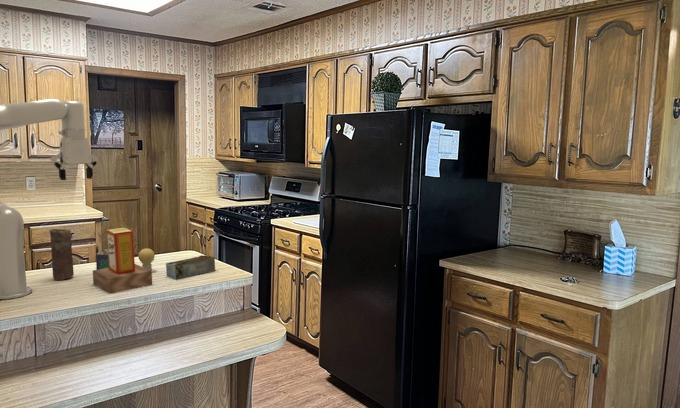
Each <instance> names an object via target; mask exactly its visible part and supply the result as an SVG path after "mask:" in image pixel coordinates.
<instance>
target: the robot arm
mask: <svg viewBox="0 0 680 408" xmlns="http://www.w3.org/2000/svg"><path fill="white" fill-rule="evenodd" d="M58 120H61V128H62V129H61V130H58V135H61V137H60V143H59V153H57V154H55V155H53V156H51V157H50V161H51V162H52V164H53V166H54V167H56V169H58V175H59V176H58V177H59V179H60V181H66V180H67V177H66V176H67V175H66V169H65V167H66V166H68V165H85V167H86V168H85V170H86V171H85V172H86V173H85V174H86V179H89V180H91V179H93V174H94V173H93V169H94V167H95V166H96V165H97V163H98V161H99V159H100V157H99V156H98V155H95V154H93V153H92V152H91V146H90V141H89V139H88V137H86V130H85V129H86V128H85V111H84V104H83V103H82V101H77V100H65V101H63V100H60V99H58V98H46V99H42V100H33V101H27V102H18V103H17V102H15V103H13V102H12V103H2V104H0V131H3V130H9V129H15V128H20V127H24V126H29V125H34V124H39V123H46V122H52V121H58ZM58 159H59V162H58V161H57V160H58ZM24 224H25V223H24V218H23V216H22V214H21V212H19V210H17V209H15V208H13V207H10V206H8V205H7V204H5V203H3V202H2V201H1V200H0V300H8V299H9V300H10V299H16V298H21V297H25V296H27V295H30V294H31V293H32V292H33V288H32V287H31V286H28V285H27V275H26V263H25V249H24V229H25V228H24V227H25V226H24Z"/></svg>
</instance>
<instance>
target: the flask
mask: <svg viewBox="0 0 680 408" xmlns="http://www.w3.org/2000/svg"><path fill="white" fill-rule="evenodd" d="M95 263H96V264H95V265H96V269H95V270H99V269H104V268H109V262H108V248H107V249H104V251H100V252H97V253H95Z"/></svg>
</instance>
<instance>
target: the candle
mask: <svg viewBox="0 0 680 408" xmlns="http://www.w3.org/2000/svg"><path fill="white" fill-rule="evenodd" d="M71 233H72V232H71V230H69V229H66V228H63V229H57V228H51V229H50V230H49V235H50V249H51V250H50V251H51V264H52V265H51V268H52V279H53V281H63V280H67V279H70V278H72V277H73V276H74V274H75V273H74V259H73V248H72V236H71Z"/></svg>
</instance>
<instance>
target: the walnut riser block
mask: <svg viewBox="0 0 680 408" xmlns="http://www.w3.org/2000/svg"><path fill="white" fill-rule="evenodd" d="M92 282H93V285H94V286H95V287H97V288H99V289H101V290H103V291H105V292H106V293H108V294H113V293H119V292H123V291H129V290H133V289H134V290H135V289H138V287H139V288H143V286H144V287H148V286H153V271H151V270H149V269H146V268H144V267H142V265H139V264H136V263H135V271H133V272H128V273H123V274H116V273H114V272H113V271H111V270H109V268H104V269H99V270H96V269H95V270H94V269H93V270H92Z"/></svg>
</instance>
